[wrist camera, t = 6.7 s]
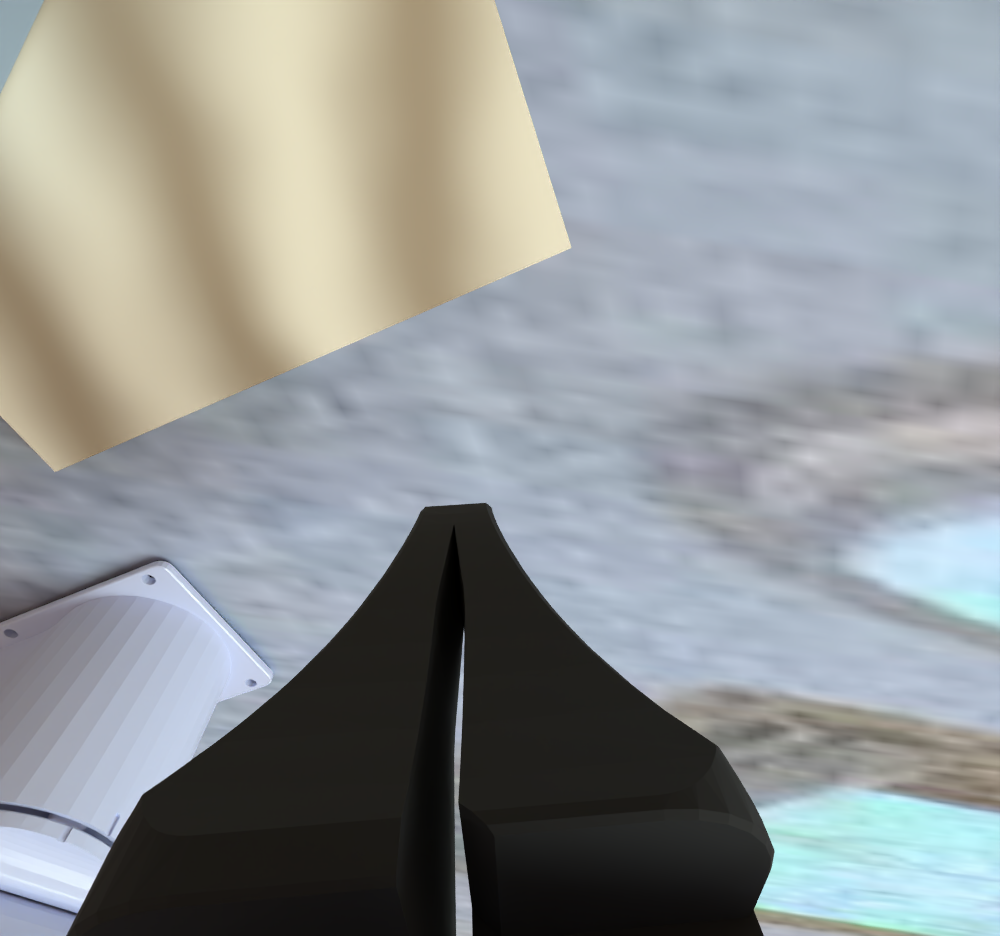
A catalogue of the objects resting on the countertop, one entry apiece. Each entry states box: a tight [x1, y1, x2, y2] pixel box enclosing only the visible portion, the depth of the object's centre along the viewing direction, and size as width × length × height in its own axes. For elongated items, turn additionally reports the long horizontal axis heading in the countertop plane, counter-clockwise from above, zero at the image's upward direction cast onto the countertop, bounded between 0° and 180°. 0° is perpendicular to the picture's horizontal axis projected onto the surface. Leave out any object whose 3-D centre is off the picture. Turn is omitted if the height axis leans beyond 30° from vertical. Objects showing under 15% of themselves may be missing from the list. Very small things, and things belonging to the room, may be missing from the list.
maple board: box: [0, 0, 571, 472], centre depth 14 cm, size 19×16×1 cm
